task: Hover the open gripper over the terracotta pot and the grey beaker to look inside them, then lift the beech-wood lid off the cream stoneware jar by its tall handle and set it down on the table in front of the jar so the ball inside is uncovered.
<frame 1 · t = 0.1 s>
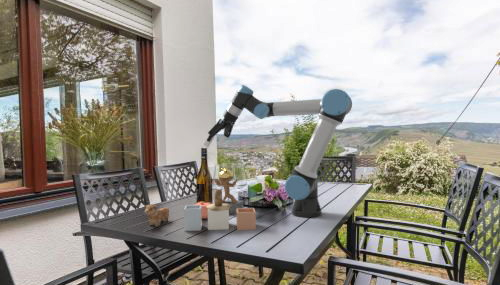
hand: (212, 145, 163), 36 cm above the table, tool tilted 35°, fingers open, 13 cm apart
lid: (218, 207, 134), point 9 cm above the table, touching jar
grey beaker: (193, 229, 132), on the table
jar: (218, 228, 134), on the table
figurine 2: (157, 224, 142), on the table
jar ball: (218, 226, 134), point 1 cm above the table, touching jar
terracotta pot: (246, 228, 133), on the table
figurine: (229, 213, 160), on the table
pot ball: (245, 227, 133), point 1 cm above the table, touching terracotta pot
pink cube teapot: (203, 218, 151), on the table
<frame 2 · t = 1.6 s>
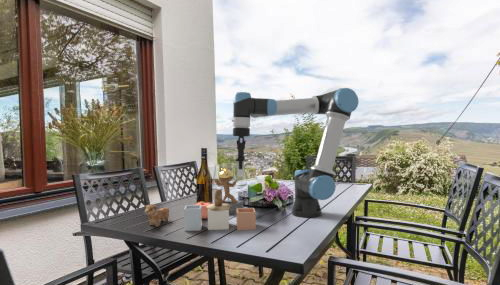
hand: (240, 175, 134), 23 cm above the table, tool pointing down, fingers open, 13 cm apart
nothing on the table moved.
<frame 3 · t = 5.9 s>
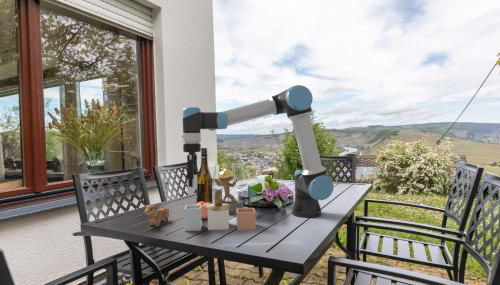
hand: (192, 191, 132), 17 cm above the table, tool pointing down, fingers open, 13 cm apart
nothing on the table moved.
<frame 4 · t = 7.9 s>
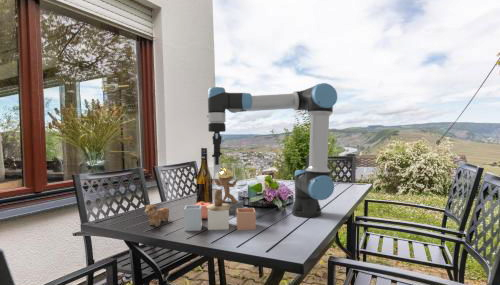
hand: (217, 170, 133), 25 cm above the table, tool pointing down, fingers open, 13 cm apart
nothing on the table moved.
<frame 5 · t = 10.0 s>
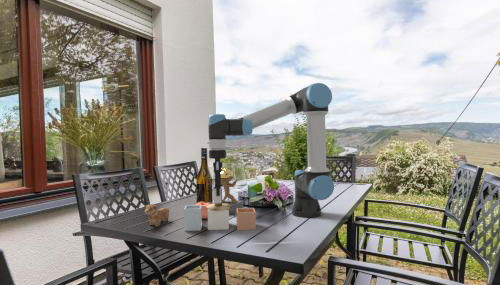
hand: (218, 202, 134), 12 cm above the table, tool pointing down, fingers closed on lid, 3 cm apart
lid: (218, 207, 134), point 9 cm above the table, touching gripper, jar
everything else where it was.
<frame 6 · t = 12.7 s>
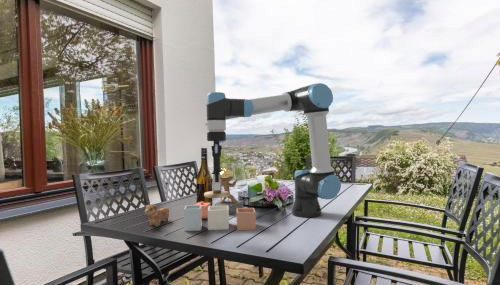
hand: (217, 189, 122), 19 cm above the table, tool pointing down, fingers closed on lid, 3 cm apart
lid: (217, 195, 122), point 17 cm above the table, touching gripper
everything else where it was.
when the fingers open (4 cm above the table, at t = 15.6 s): lid drops 1 cm, on the table.
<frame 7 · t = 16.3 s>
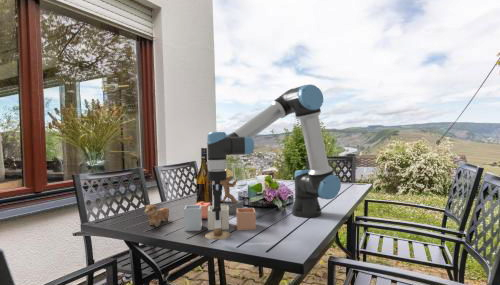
hand: (218, 223, 121), 5 cm above the table, tool pointing down, fingers open, 12 cm apart
lid: (218, 237, 122), on the table
everything else where it was.
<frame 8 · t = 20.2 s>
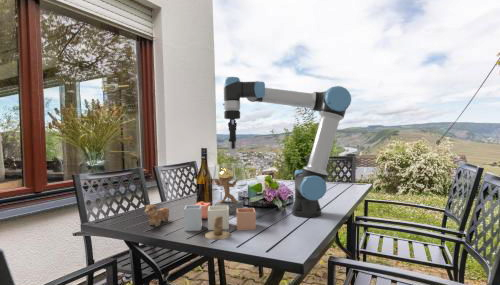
hand: (232, 155, 143), 32 cm above the table, tool pointing down, fingers open, 13 cm apart
nothing on the table moved.
at the end: lid inside the target area (0.0 cm from its centre), on the table; lid tilted 2°; the gripper is holding nothing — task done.
